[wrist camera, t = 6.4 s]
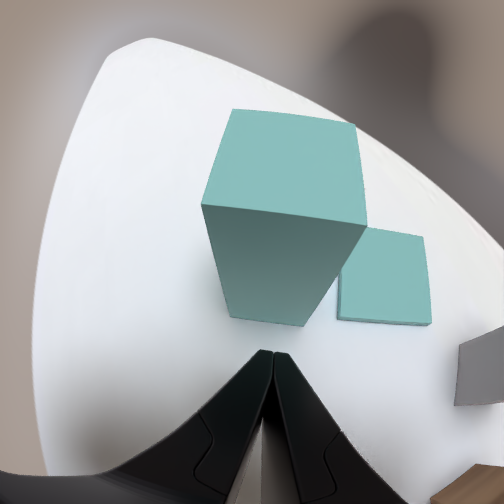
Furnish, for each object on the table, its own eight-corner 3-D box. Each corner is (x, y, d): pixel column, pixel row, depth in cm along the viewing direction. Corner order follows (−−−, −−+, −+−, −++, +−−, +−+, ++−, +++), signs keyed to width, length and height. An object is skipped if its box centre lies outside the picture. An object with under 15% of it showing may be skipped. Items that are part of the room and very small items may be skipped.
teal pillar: (303, 326, 15) (367, 225, 7) (230, 316, 16) (200, 203, 7) (308, 260, 17) (354, 124, 8) (242, 252, 18) (232, 108, 9)
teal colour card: (426, 325, 15) (431, 323, 15) (337, 319, 16) (340, 316, 15) (419, 241, 18) (422, 236, 17) (339, 228, 18) (341, 223, 18)
